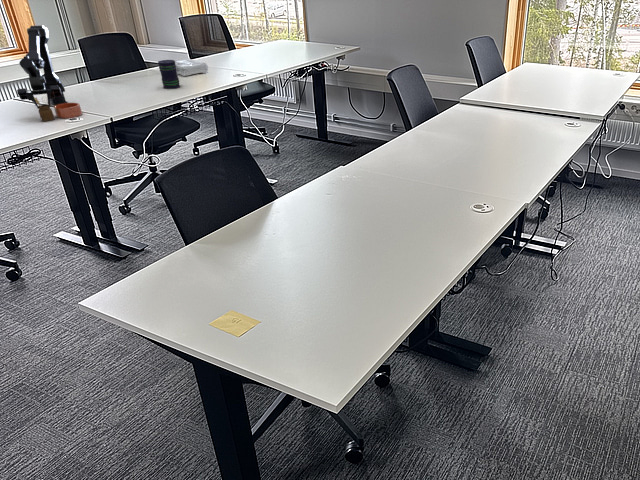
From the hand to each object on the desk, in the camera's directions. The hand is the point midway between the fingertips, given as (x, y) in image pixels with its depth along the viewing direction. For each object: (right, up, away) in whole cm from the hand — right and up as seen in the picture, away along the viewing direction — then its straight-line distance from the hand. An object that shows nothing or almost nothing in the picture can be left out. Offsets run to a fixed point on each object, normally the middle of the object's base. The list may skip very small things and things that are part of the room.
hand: (43, 107), depth 283 cm
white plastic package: (+33, +59, +102) cm, 123 cm away
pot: (+6, 0, +12) cm, 13 cm away
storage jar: (+38, +34, +65) cm, 83 cm away
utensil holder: (-1, -5, +5) cm, 7 cm away
